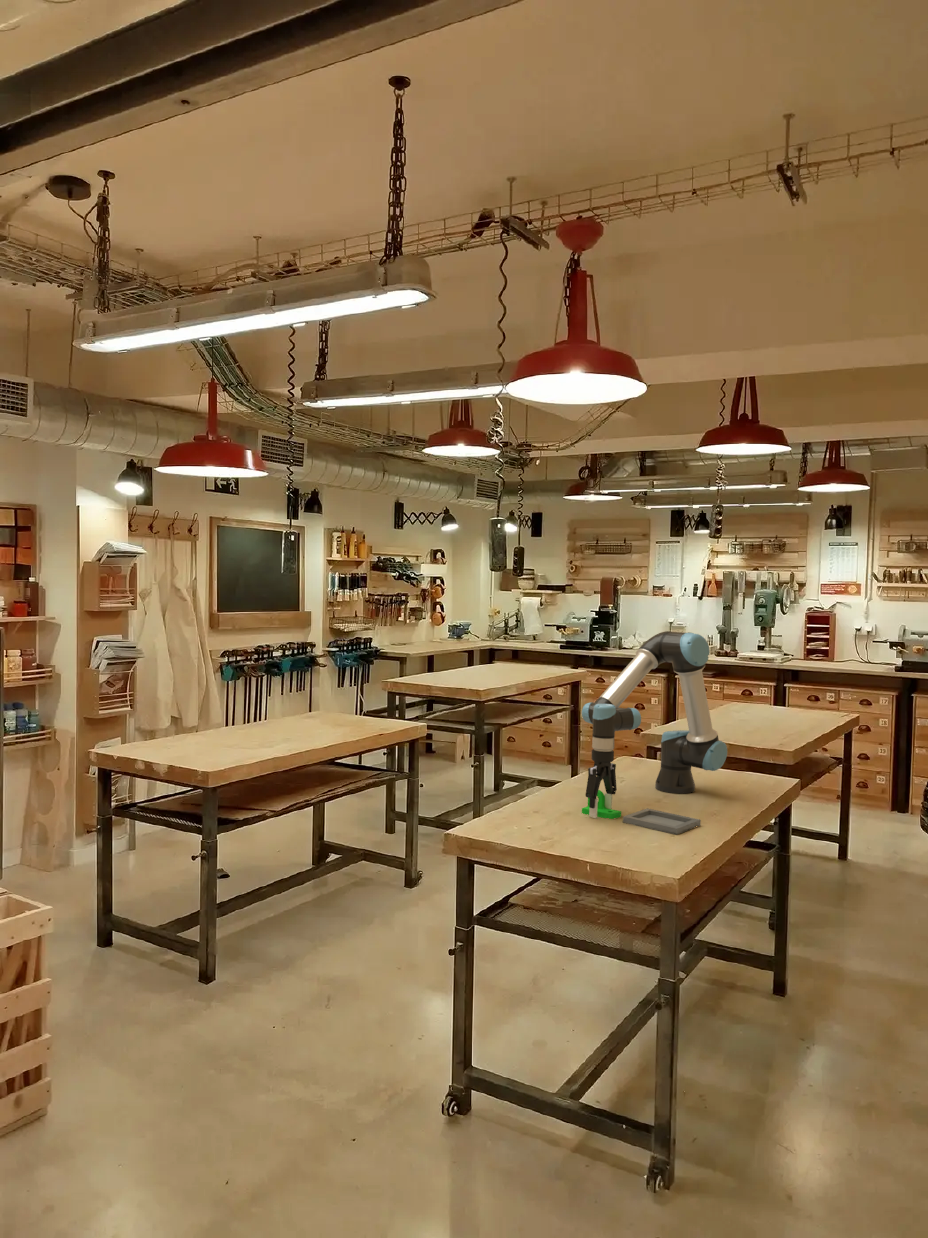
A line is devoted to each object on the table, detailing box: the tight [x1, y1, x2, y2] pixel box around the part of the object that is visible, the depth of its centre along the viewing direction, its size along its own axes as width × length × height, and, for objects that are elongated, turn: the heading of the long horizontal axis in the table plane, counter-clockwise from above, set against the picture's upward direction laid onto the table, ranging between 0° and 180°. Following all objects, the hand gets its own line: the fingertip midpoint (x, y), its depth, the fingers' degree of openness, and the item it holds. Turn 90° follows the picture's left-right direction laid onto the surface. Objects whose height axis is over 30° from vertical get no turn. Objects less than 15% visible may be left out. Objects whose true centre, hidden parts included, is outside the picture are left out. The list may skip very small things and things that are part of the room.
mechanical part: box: [581, 789, 622, 820], centre depth 301 cm, size 12×6×8 cm, turn 53°
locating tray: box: [622, 807, 702, 836], centre depth 292 cm, size 16×20×2 cm
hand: (600, 815), depth 301 cm, fingers open, 8 cm apart
